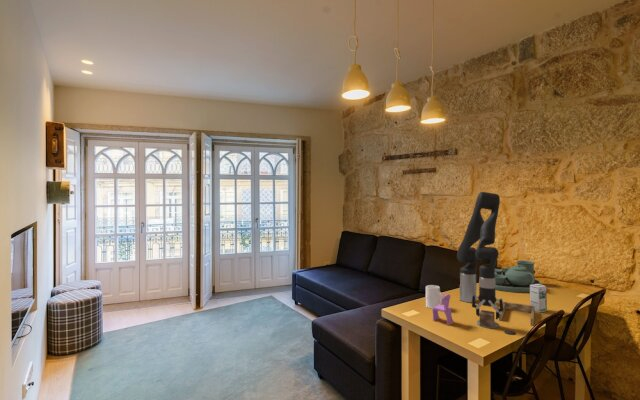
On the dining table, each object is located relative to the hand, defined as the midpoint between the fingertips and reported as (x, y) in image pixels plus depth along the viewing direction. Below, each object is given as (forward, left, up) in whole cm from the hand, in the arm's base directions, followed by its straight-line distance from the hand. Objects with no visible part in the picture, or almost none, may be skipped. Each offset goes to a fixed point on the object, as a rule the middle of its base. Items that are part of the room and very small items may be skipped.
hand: (487, 317), depth 176 cm
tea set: (+3, +89, -4) cm, 89 cm away
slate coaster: (0, 0, -4) cm, 4 cm away
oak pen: (+12, +21, -4) cm, 24 cm away
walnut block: (0, -2, -3) cm, 3 cm away
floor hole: (+11, -6, -4) cm, 13 cm away
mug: (-29, +13, -4) cm, 32 cm away
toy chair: (-20, -7, -4) cm, 22 cm away
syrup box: (+22, +37, -4) cm, 43 cm away
